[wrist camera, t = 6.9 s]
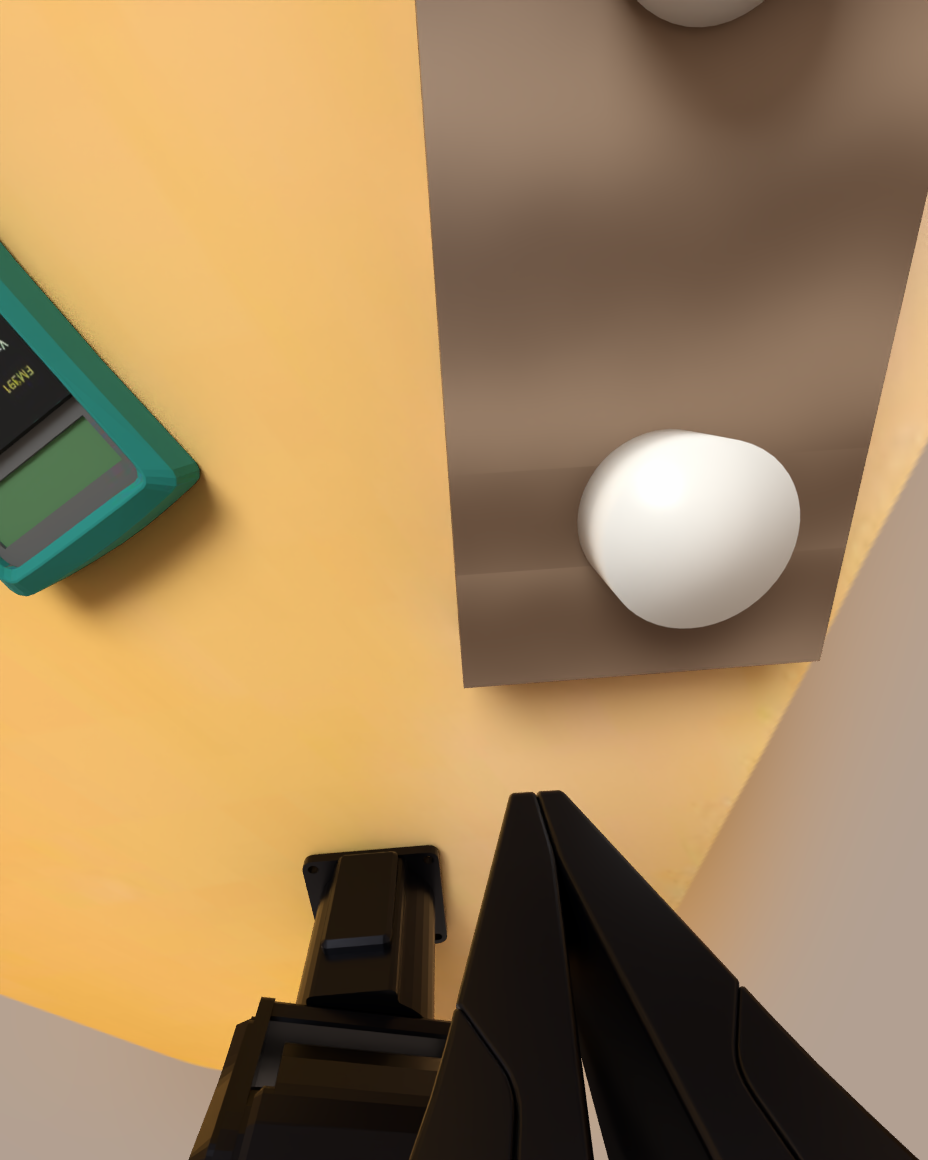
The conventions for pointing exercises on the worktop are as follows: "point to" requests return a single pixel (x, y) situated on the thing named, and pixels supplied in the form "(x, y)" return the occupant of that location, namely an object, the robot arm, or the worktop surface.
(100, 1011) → the worktop surface
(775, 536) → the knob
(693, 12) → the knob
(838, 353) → the brown wooden board
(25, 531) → the digital multimeter
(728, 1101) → the robot arm
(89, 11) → the worktop surface
